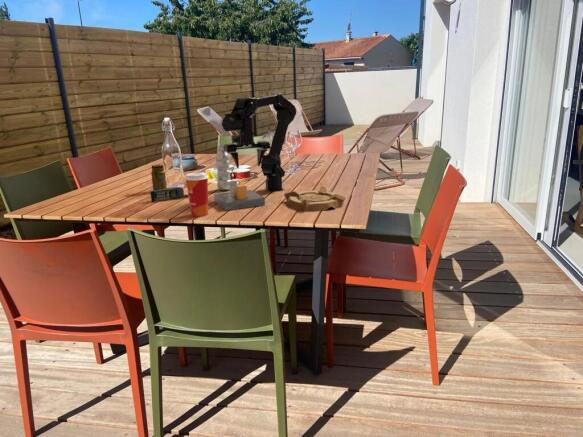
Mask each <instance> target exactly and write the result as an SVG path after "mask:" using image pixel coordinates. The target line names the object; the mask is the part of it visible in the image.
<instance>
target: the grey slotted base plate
mask: <svg viewBox="0 0 583 437" xmlns="http://www.w3.org/2000/svg"><path fill="white" fill-rule="evenodd" d="M236 185H241V183H240V180H231V181H230V189H229V190H230V192H221V193H214V194H213V201H214V203H216V204H217V205H218V206H219V207H220V208H222V209H223V210H224V211H231V210H238V209H246V208H254V207H260V206H261V207H262V206H265V205H266V203H265V202H266V198H265V197H264V196H262V195H260V194H259V193H258V192H255V191H254V190H252V189H247V199H242V200H237V194H236Z"/></svg>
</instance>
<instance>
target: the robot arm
mask: <svg viewBox="0 0 583 437" xmlns="http://www.w3.org/2000/svg"><path fill="white" fill-rule="evenodd" d="M267 106H272V108H273V110H274V111H275V112H276V115H275V116H276V120H277V124H276V127H275V130H274V134H273V136H272V142H271V143H270V142H269V141H267V140H262V141H261V140H260V141H256V143H255V141H254V139H255V138H254V136H255V131H254V119H253V118H256V117H258V116H257V115H256V113H254V111H257V110H258V109H259V108H262V107H267ZM296 115H297V108H296V106H295V105H294V104H293V103H292V102H291V101H290V100H288V99H287V98H285V97H284V96H283V95H282V94H281V93H275V94H274V93H272V94H270V95H265V96H264V95H263V96H259V97H238V98H236V101H235V103H234V105H233V108H232V110H231V112H230V113H224V117H223V118H222V122H221V127H222V129H223V130H224V131H226V132H234V131H238V135H237V134H232V135H231V143H224V145H223V146H224V151H226V152H227V153H228V155H231V156H230V157H231V158H232V159H233V162H234V163H235V164H234V165H235V167H236V169H239V168H240V163H239V152H237V151H238V150H247V149H248V150H249V149H256V154H257V156H256V157H257V158H256V161H257V162H256V164H257V167H260V169H261V171H262V174H263V176H264V177H266V178H265V190H267V191H269V192H276V191H277V192H278V191H283V190H284V188H283V178H284V177H285V175H286V171H285V170H284V169H283V167H282V160H281V159H282V158H281V153H282V149H283V146H284V142H285V139H286V136H287V131H288V129H289V125H290V124H291V123H292V122H294V119H295V117H296ZM268 150H269V152H268ZM266 152H268V153H267V154H265V153H266Z"/></svg>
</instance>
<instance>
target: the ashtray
mask: <svg viewBox="0 0 583 437" xmlns="http://www.w3.org/2000/svg"><path fill="white" fill-rule="evenodd" d="M283 195H284V197H285V199H286V204H287V207H289V208H290V209H292V210H297V211H305V212H323V211H326V210H328V209H329V208H333V209H335V210H337V209H339V208H342V207H343V205H345V204H344V203H345V200H346V197H345V196H343V195H341V194H338V193H335V192H333V191H332V192H331V191H327V187H325V186H321V187H320V188H319V190H305V191H304V190H303V191H300V192H297V191H296V190H293V191H289V192H287V193H284V194H283Z"/></svg>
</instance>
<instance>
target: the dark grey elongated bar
mask: <svg viewBox="0 0 583 437" xmlns="http://www.w3.org/2000/svg"><path fill="white" fill-rule="evenodd" d="M152 190H153V189H152ZM149 193H150V200H151V202H152V203H157V202H164V201H171V200H172V201H173V200H179V199H181V198H186V197H188V196H187V195H188V194H185V190H184V189H183V187H182V186H175V187H167V188H166V189H159V190H153V191H150V192H149Z"/></svg>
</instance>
